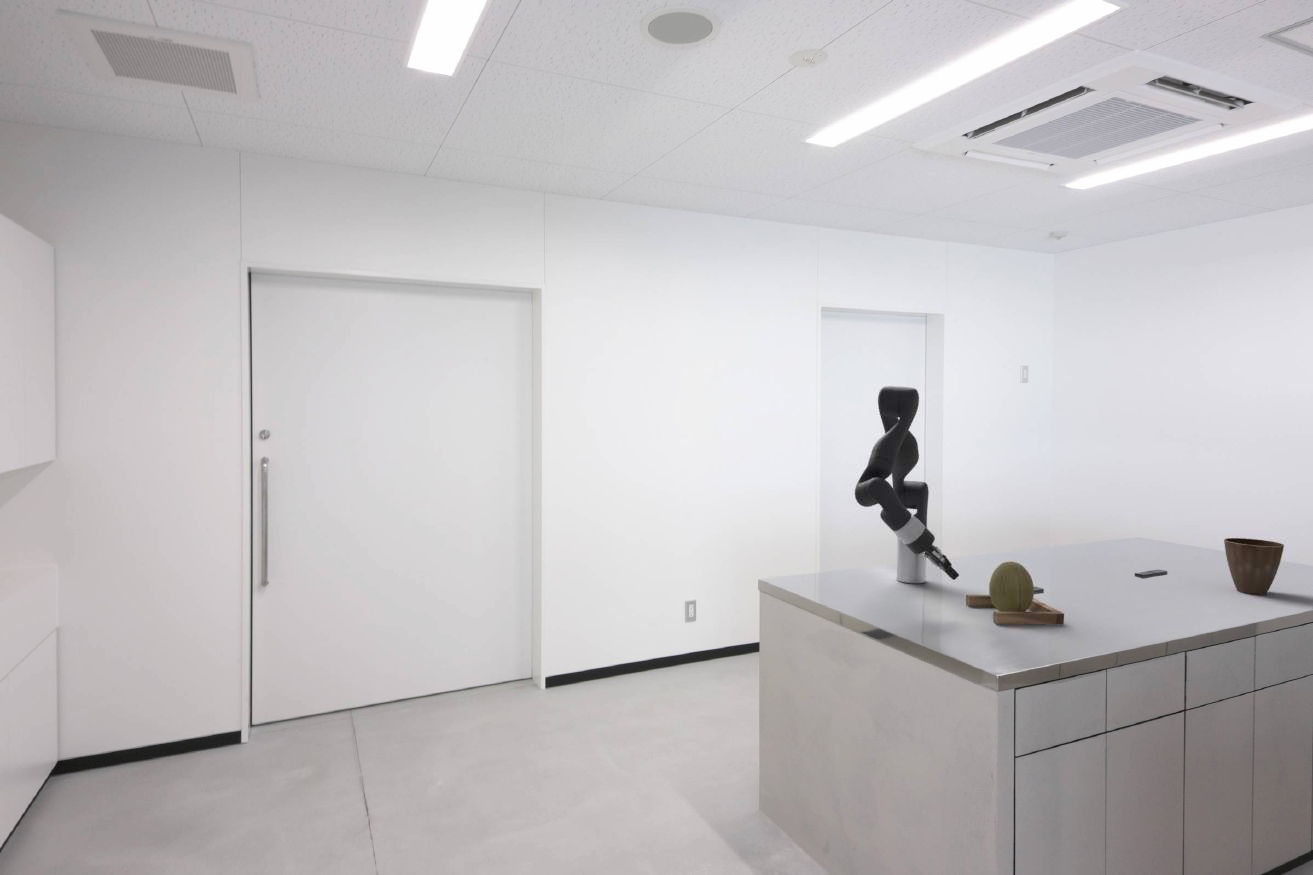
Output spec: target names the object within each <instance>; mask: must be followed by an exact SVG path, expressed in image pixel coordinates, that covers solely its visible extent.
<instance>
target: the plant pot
mask: <svg viewBox="0 0 1313 875" xmlns="http://www.w3.org/2000/svg"><path fill="white" fill-rule="evenodd" d="M1223 544H1224V550H1225V556H1226V561H1227V567H1228V570H1229V572H1230V573H1229V574H1230V577H1231V579H1232V582H1233V583H1234V584H1233V585H1234V588H1235V589H1236V591H1237V592H1239V593H1243V594H1247V595H1257V596H1258V595H1259V596H1264V595H1265V596H1266V595H1267V594H1268V592H1269V590H1270V588H1271V586H1272V584H1273V582H1274V580H1275V578H1276V575H1277V573H1278V570H1279V567H1280V564H1281V560H1282V556H1283V552H1284V548H1285V544H1283V543H1282V542H1278V541H1277V542H1276V541H1271V540H1265V539H1255V538H1245V537H1242V538H1241V537H1230V538H1229V537H1228V538H1223Z"/></svg>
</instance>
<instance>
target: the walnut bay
mask: <svg viewBox="0 0 1313 875" xmlns="http://www.w3.org/2000/svg"><path fill="white" fill-rule="evenodd" d="M965 596H966V597H965V605H966V606H967V607H975V608H976V607H982V608H983V607H989V608H991V607H993V608H995V606H994V605H993V603H992V601H991V598H990V594H966V595H965ZM1027 610H1028V611H1025V612H1014V611H998V610H997V611H993V623H994V624H995V625H999V626H1000V625H1003V626H1004V625H1005V626H1006V625H1009V626H1010V625H1015V626H1016V625H1020V626H1022V625H1023V624H1025V625H1027V626H1029V625H1028V624H1031V625H1030V626H1035V625H1034V624H1057V626H1059V625H1058V624H1064V623H1065V613H1063V612H1061V611H1060V610H1058V609H1057V608H1054V607H1052V606H1050V605H1048V604H1046V603H1044V602H1041V601H1040V600H1039V599H1036V598H1035V597H1033V600H1032V603H1031V605H1030V606H1029V608H1028V609H1027ZM1025 625H1023V626H1025Z"/></svg>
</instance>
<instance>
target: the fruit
mask: <svg viewBox="0 0 1313 875" xmlns="http://www.w3.org/2000/svg"><path fill="white" fill-rule="evenodd" d="M988 585H989V587H988V588H989V589H988V592H989V593H988V594H989V595H990V598H991V601H992V603H993V605H994V606H995V607H994V608H995V609H996V610H997V611H1014V612H1027V610H1029V609H1028V608H1029V606H1030V605H1031V603H1032V600H1033V598H1034V595H1035V588H1034V583H1033V579H1032V575H1031V574H1030V572H1029V571H1028V570H1027V569H1026V567H1024V565H1022V564H1021V563H1019V562H1016V561H1013V560H1012V561H1005V562H1002V563H1000V564H999V565H998V566H997V567H996V568H995V569H994V570H993V572H992V574H991V576H990V580H989V584H988Z"/></svg>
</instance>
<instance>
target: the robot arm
mask: <svg viewBox="0 0 1313 875" xmlns="http://www.w3.org/2000/svg"><path fill="white" fill-rule="evenodd" d="M877 397H878V398H877V406H878V411H879V416H880V418H881V423H882V426H883V430H884V434H883V435H882V436H881V437H880V438H879V439H878V440H877V441H876V442H875V444H874V445H873V448H872V450H871V452H870V456H869V459H868V462H867V465H866V467H865V469H864V471H863V472H862V474H861V475H860V478H859V479H858V481H857V483H856V484H855V485H856V486H855V489H854V497H855V498H854V499H855V500H856V502H857V503H858V505H859V506H861V507H864V508H869V507H870V508H871V507H873V506H876V505H879V506H880V507H881V509H882V510H881V511H880V515H879V516H880V519H881V520H882V521H883V523H884V524H886V525H887V527H888V528H890V530H891V531H892V532H893V533H894V534H895V536H896V537H897V543H896V545H897V546H896V547H897V548H896V550H897V552H896V580H897V581H898V582H900V583H901V582H902V583H906V584H922V583H926V581H927V580H926V578H927V576H926V575H927V559H928V560H929V561H930V562H931V564H933V565H934V566H936V567H937V568H939V569H940V570H941V571H943V572H944V573H945V574H946V575H947V576H948V577H949V578H950V579H952V580H953V581H955V580H956V579H957V578H958V577H959V576H960V573H958V571H956V569H954V568H953V567H952V563H951V561H950V559H948V558H947V555H945V554H943V553H942V551H941V549H940V548H939V547H938V546H935V545H934V542H935V539H936V537H935V535H934V534H933V532H932V531H930V530H929V529H928V506H929V492H930V490H929V486H928V484H927V482H926V481H918V480H917V481H916V480H915V481H914V480H905V478H906V477H907V476H908V475H909V474H910V473H911V471H913V469H914V468H915V467H916V466H917V464H918V462H919V459H920V454H919V452H920V451H919V445H918V440H917V438H916V437H915V436H914V434H913V433H912V431H911V430H910V428H911V426H912V423H913V421H914V419H915V417H916V416H917V415H916V414H917V412H918V408H919V403H920V396H919V391H918V389H916V388H914V387H909V386H898V385H897V386H895V385H885V386H883V387H882V388H881V389H879V392H878V395H877ZM890 476H891V478H892V479H891V480H892V484H890V482H889V481H887V479H888V478H890ZM909 509H910V510H916V512H915V513H914V514H912V512H910V511H909Z"/></svg>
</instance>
